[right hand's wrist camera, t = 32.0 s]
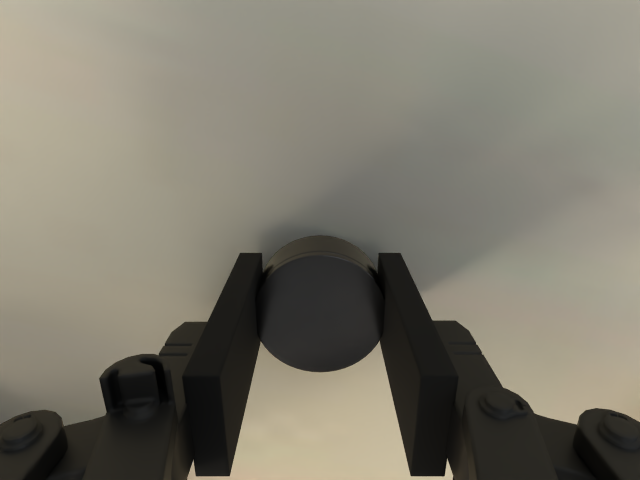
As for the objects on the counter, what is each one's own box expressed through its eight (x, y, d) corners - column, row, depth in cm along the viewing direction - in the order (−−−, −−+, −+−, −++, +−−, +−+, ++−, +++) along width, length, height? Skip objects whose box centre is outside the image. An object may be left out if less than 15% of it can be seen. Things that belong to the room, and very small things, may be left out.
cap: (256, 335, 15) (248, 365, 14) (265, 227, 14) (257, 247, 12) (369, 346, 16) (374, 378, 14) (389, 242, 14) (399, 263, 12)
